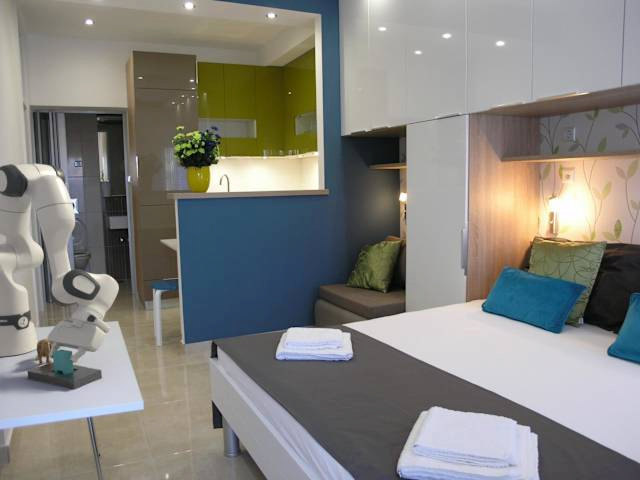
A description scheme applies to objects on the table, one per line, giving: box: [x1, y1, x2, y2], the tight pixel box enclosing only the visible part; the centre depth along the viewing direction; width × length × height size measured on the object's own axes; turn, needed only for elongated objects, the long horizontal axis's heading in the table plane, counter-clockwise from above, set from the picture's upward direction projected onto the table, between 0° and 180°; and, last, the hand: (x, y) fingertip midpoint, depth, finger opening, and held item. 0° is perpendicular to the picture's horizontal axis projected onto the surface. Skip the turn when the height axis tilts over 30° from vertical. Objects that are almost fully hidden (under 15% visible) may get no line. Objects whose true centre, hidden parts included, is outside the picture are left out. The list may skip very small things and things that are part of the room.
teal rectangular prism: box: [52, 348, 74, 375], centre depth 174 cm, size 5×3×8 cm, turn 63°
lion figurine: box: [35, 338, 52, 366], centre depth 191 cm, size 15×5×9 cm, turn 40°
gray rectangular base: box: [27, 361, 103, 390], centre depth 174 cm, size 21×10×2 cm, turn 63°
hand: (61, 359), depth 173 cm, fingers open, 8 cm apart
